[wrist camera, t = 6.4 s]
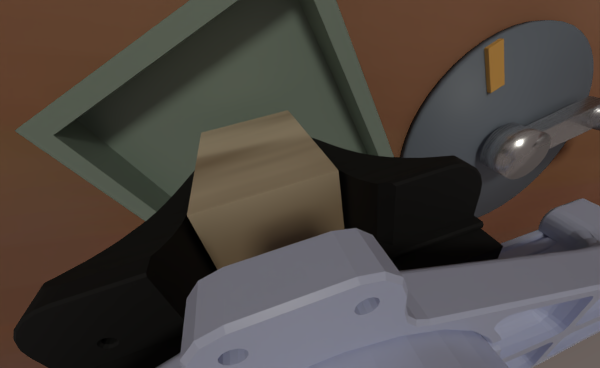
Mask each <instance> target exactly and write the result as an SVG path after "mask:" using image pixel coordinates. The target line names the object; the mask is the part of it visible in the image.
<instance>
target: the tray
mask: <svg viewBox="0 0 600 368" xmlns="http://www.w3.org/2000/svg"><path fill="white" fill-rule="evenodd" d="M287 110H288V111H289V112H290V113H291V114H292V116H293V117H294V118H295V119H296V120H297V122H298V123H299V124H300V125H301V126H302V127H303V129H304V130H305V131H306V132H307V133H308V135H309V136H310V137H311V138H315V139H318V140H320V141H323V142H326V143H328V144H331V145H334V146H337V147H340V148H343V149H347V150H350V151H354V152H358V153H363V154H369V155H375V156H384V157H394V156H393V153H392V150H391V148H390V145H389V142H388V140H387V137H386V134H385V131H384V129H383V126H382V123H381V121H380V118H379V115H378V113H377V110H376V107H375V104H374V102H373V99H372V96H371V94H370V91H369V88H368V86H367V83H366V80H365V77H364V75H363V72H362V69H361V67H360V64H359V61H358V59H357V56H356V53H355V50H354V48H353V45H352V42H351V40H350V37H349V34H348V32H347V29H346V26H345V23H344V21H343V18H342V15H341V13H340V10H339V7H338V5H337V2H336V0H190V1H188V2H187V3H186V4H184V5H183V6H182V7H180V8H179V9H178V10H176V11H175V12H174V13H172V14H171V15H169V16H168V17H167V18H165V19H164V20H163V21H161V22H160V23H159V24H157V25H156V26H155V27H153V28H152V29H151V30H149V31H148V32H147V33H145V34H144V35H143V36H141V37H140V38H139V39H137V40H136V41H135V42H133V43H132V44H131V45H129V46H128V47H127V48H125V49H124V50H122V51H121V52H120V53H118V54H117V55H116V56H114V57H113V58H112V59H110V60H109V61H108V62H106V63H105V64H104V65H102V66H101V67H100V68H98V69H97V70H96V71H94V72H93V73H92V74H90V75H89V76H88V77H86V78H85V79H84V80H82V81H81V82H79V83H78V84H77V85H75V86H74V87H73V88H71V89H70V90H69V91H67V92H66V93H65V94H63V95H62V96H61V97H59V98H58V99H57V100H55V101H54V102H53V103H51V104H50V105H49V106H47V107H46V108H45V109H43V110H42V111H41V112H39V113H38V114H37V115H35V116H34V117H32V118H31V119H30V120H28V121H27V122H26V123H24V124H23V125H22V126H20V127H19V128H18V129H16V130H15V131H16V132H17V133H19V134H20V135H22V136H23V137H24V138H26V139H27V140H29V141H30V142H32V143H33V144H35V145H36V146H37V147H39V148H40V149H42V150H43V151H45V152H46V153H48V154H49V155H50V156H52V157H53V158H55V159H56V160H58V161H59V162H61V163H62V164H63V165H65V166H66V167H68V168H69V169H71V170H72V171H74V172H75V173H76V174H78V175H79V176H81V177H82V178H84V179H85V180H87V181H88V182H90V183H91V184H92V185H94V186H95V187H97V188H98V189H100V190H101V191H103V192H104V193H105V194H107V195H108V196H110V197H111V198H113V199H114V200H116V201H117V202H118V203H120V204H121V205H123V206H124V207H126V208H127V209H129V210H130V211H131V212H133V213H134V214H136V215H137V216H139V217H140V218H142V219H143V220H144V221H146V220H148V219H149V218H150V217H151V216H152V215H154V214H155V213H156V212H157V211H158V210H159V209H160V208H161V207H162V206H163V205H164V204H165V203H166V202H167V201H168V200H169V199H170V198H171V197H172V196H173V195H174V194H175V193H176V191H177V190H178V189H179V188H180V187H181V186H182V184H183V183H184V182H185V181H186V180H187V179H188V177H189V176H190V175H191V174H192V173H193V172H194V171H195V166H196V160H197V154H198V148H199V143H200V137H201V133H202V132H206V131H210V130H213V129H217V128H221V127H225V126H229V125H233V124H237V123H240V122H244V121H248V120H252V119H256V118H260V117H263V116H267V115H271V114H275V113H279V112H283V111H287Z"/></svg>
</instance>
